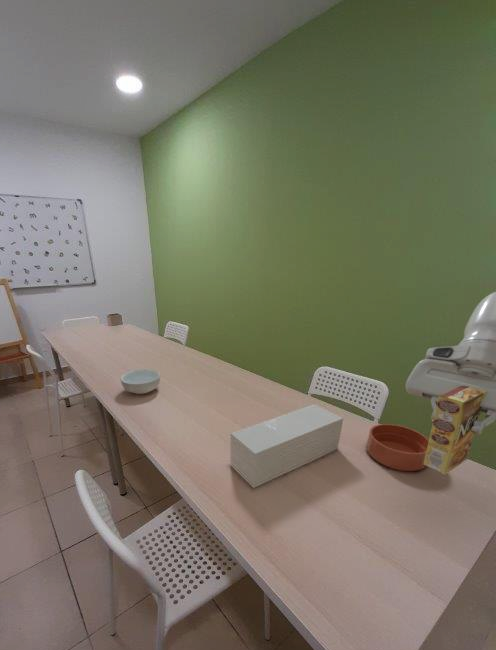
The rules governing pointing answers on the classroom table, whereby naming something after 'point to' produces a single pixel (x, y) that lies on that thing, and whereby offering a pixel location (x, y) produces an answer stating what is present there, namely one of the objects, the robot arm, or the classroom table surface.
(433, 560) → the classroom table surface
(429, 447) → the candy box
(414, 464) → the pot
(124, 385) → the cereal bowl
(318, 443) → the pale grey rectangular box
